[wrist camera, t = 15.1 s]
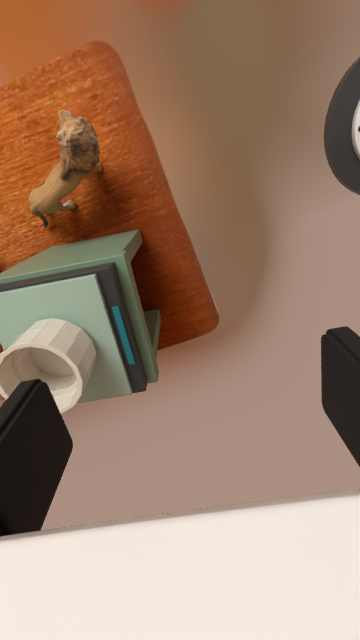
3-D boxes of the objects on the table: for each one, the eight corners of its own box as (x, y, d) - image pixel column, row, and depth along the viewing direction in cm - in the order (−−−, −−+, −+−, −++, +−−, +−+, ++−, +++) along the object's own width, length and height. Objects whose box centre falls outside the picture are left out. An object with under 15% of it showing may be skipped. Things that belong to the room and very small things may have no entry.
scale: (114, 261, 28) (108, 269, 26) (147, 379, 33) (145, 394, 31) (-10, 286, 29) (-27, 295, 27) (41, 397, 34) (31, 413, 32)
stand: (143, 228, 44) (123, 254, 28) (164, 318, 49) (157, 381, 34) (47, 247, 45) (-23, 282, 29) (79, 333, 50) (34, 402, 35)
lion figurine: (82, 113, 38) (55, 94, 30) (119, 142, 39) (103, 132, 31) (30, 216, 43) (-6, 224, 35) (65, 239, 44) (38, 252, 36)
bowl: (84, 310, 27) (65, 335, 23) (106, 374, 30) (93, 408, 26) (11, 323, 28) (-22, 351, 23) (39, 385, 31) (14, 421, 26)
